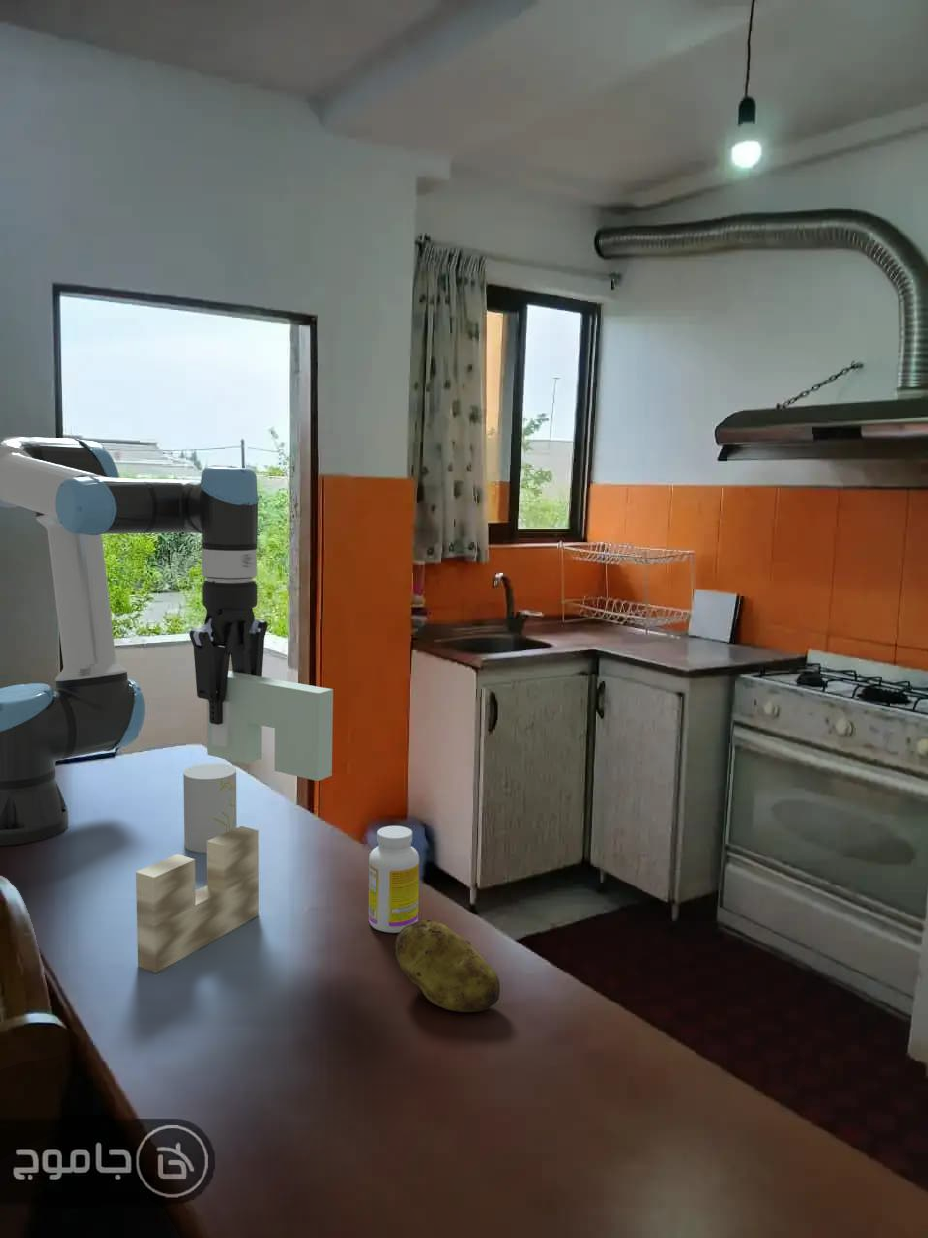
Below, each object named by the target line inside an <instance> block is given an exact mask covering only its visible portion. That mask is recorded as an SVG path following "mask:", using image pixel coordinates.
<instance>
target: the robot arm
mask: <svg viewBox="0 0 928 1238" xmlns="http://www.w3.org/2000/svg"><path fill="white" fill-rule="evenodd" d="M258 493H259V492H258V477H257V473H256V471H254V470H253V469H252V468H245V467H244V468H242V467H241V468H240V467H238V468H237V467H217V466H215V467H213V466H211V467H210V466H209V467H207V466H206V467H205V468H203V470H202V472H201V480H198V479H197V480H196V479H195V480H194V479H188V478H171V479H169V478H168V479H167V478H165V479H164V478H161V479H160V478H136V479H135V478H124V477H123V478H120V477H119V471H118V469H117V465H116V463H115V461H114V458H113V457H112V455H111V454H110V452H109V451H108V450H106V447H104V446H103V445H102V444H100V443H99V442H96V441H92V440H91V441H90V440H82V439H79V438H60V437H59V438H55V437H50V438H49V437H33V436H31V437H30V436H29V437H28V436H20V435H19V436H17V435H16V436H14V435H13V436H10V435H9V436H2V437H0V507H2V508H9V509H10V508H25V509H27V510H31V511H33V512H35V519H36V521H37V522H38V523H39V524H40V525H42V526H44V528H45V530H47V537H48V538H47V539H48V546H49V554H50V555H49V556H50V564H51V573H52V580H53V589H54V597H55V598H54V599H55V607H56V614H57V616H56V617H57V622H58V631H59V632H58V633H59V641H60V649H61V659H62V666H63V668H62V670H61V671H60V672H59V673H58V675H57V676H56V677H55V679H54V681H55V690H53V688H52V687H51V685H50V684H47V683H42V682H31V683H26V684H23V683H22V684H14V685H10V686H4V687H1V688H0V846H15V845H23V844H24V845H25V844H28V843H29V844H30V843H34V842H38V841H42V840H46V839H48V838H49V839H50V838H52V837H54V836H56V835H57V834H60V833H62V832H63V831H65V830H66V829H67V827H68V825H69V810H68V806H67V804H66V802H65V800H64V797H63V795H62V792H61V789H60V786H59V784H58V782H57V779H56V762H57V761H60V760H65V759H66V760H67V759H70V758H75V757H80V756H86V755H90V754H95V753H100V752H111V751H113V750H115V749H119V748H122V747H126V746H130V745H131V744H132V743H134V741H136V740H137V738H138V737H139V734H140V733H141V732H142V729H143V726H144V723H145V717H146V703H145V697H144V694H143V692H142V689H141V686H140V685H139V683H138V682H136V681H135V680H132V679H130V678H129V677H128V670H127V669H126V668H125V667H124V666H122V665H120V663H119V662H118V661H117V654H116V646H115V638H114V637H115V636H114V629H113V628H114V627H113V621H112V613H111V612H112V611H111V603H110V595H109V594H110V593H109V585H108V577H107V576H108V575H107V568H106V561H105V559H106V558H105V551H104V544H103V542H104V541H103V535H104V534H105V535H107V534H108V535H110V534H111V535H112V534H138V533H139V534H143V533H144V534H146V533H147V534H150V533H151V534H152V533H153V534H154V533H155V534H156V533H157V534H161V533H162V534H165V533H195V534H201V575H202V577H203V578H206V579H205V580H204V581H203V582H202V583H201V585H202V586H201V597H202V598H201V600H202V601H201V603H202V606H203V607H204V608H205V610H206V614H205V618H204V622H203V625H202V626H201V627H200V628H199V629H191V630H190V631H189V633H188V634H189V637H190V641H191V644H192V646H193V658H194V669H195V683H196V696H197V698H199V699H203V700H206V701H207V700H208V701H209V713H210V714H209V720H210V723H211V724H212V744H213V745H218V746H222V747H229V746H230V701H225V698H226V689H227V679H228V671H230V670H229V668H230V662H231V671H232V672H238V673H243V674H249V675H255V676H260V677H263V661H264V645H265V636H266V633H267V630H268V626H269V625H268V622H267V621H265V620H260V619H257V618H255V617H256V616H255V613H254V611H253V609H254V608H256V607H257V606H258V585H259V584H258V583H257V581H256V580H254V579H255V578H256V577H258V535H259V533H258V532H259V531H258V530H259V528H258V527H259V524H258V523H259V502H260V498H259V497H260V496H259V494H258ZM216 691H217V693H216Z"/></svg>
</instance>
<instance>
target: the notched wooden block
mask: <svg viewBox="0 0 928 1238" xmlns="http://www.w3.org/2000/svg"><path fill="white" fill-rule="evenodd" d="M259 834H260V833H259V830H258V829H254V828H251V827H247V826H243V825H240V826H237V828H236V829H233V830H231V831H229V832H226V833H224V834H222V835H220V836H217V837H215V838H213V839H210V840H208V841H207V853H206V885H204V886H203V887H200V888H198V889H196V859H195V858H192V857H188V856H186V855H182V854H178V853H176V854H174V855H172V856H169V857H166V858H165V859H163V860H160V861H158V862H156V863H153V864H151V865H148V866H146V867H144V868H142V869H140V870H137V871H135V883H136V884H135V886H136V887H135V888H136V889H135V890H136V930H137V931H136V934H137V938H136V939H137V967H139V968H141V969H142V970H143V969H144V970H146V971H148V972H151V973H154V974H157V973H159V972H161V971H163V970H165V969H166V968H168V967H170V966H172V965H173V964H175V963H176V962H179V961H181V960H182V959H184V958H186V957H188V956H190V955H192V954H193V953H195V952H197V951H198V950H200V949H202V948H203V947H206V946H207V945H208V944H210V943H212V942H214V941H216V940H218V939H219V938H221V937H223V936H224V935H227V934H228V933H230V932H232V931H233V930H235V929H238V928H239V927H240V926H242V925H244V924H245V923H247V922H249V921H251V920H252V919H254V918H256V917H258V916H259V915H260V913H259V912H260V910H259V909H260V902H259V901H260V893H259V891H260V888H259V887H260V884H259V883H260V882H259V881H260V879H259V878H260V874H259V873H260V870H259V869H260V868H259V867H260V856H259V855H260V852H259V850H260V849H259V847H260V846H259V841H260V838H259Z"/></svg>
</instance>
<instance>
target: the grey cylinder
mask: <svg viewBox="0 0 928 1238" xmlns="http://www.w3.org/2000/svg"><path fill="white" fill-rule="evenodd" d="M182 773H183V778H182V779H183V829H184V830H183V831H184V832H183V837H184V838H183V840H184V843H183V844H184V847H185V849H186V848H187V850H188V851H191V852H195V853H200V854H201V853H203V854H205V853H206V854H207V841H208V840H210V839H213V838H215V837H217V836H220V835H222V834H224V833H226V832H229V831H231V830H233V829H236V828H238V824H237V768H236V767H234V766H232V765H230V764H227V763H203V764H197V765H192V766H190V767H187V768H185V769H184V770H183V772H182Z"/></svg>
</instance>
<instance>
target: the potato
mask: <svg viewBox="0 0 928 1238" xmlns="http://www.w3.org/2000/svg"><path fill="white" fill-rule="evenodd" d="M395 955H396V961H397V962H398V965H399V967H400V969H401V970H402V972H403V975H404V976H405V978H406V979H408V980H409V982H411V983H413V984H414V985H416V986H418V987H419V988H420V990H421V991H422V993H423V995H424V997H425V998H426V999H427V1000H428V1001H429V1002H431V1003H432V1004H434V1005H436V1006H438V1007H440V1008H442V1009H445V1010H449V1011H452V1012H453V1011H454V1012H458V1013H459V1012H460V1013H471V1012H483V1011H485V1010H487V1009H489V1008H491V1007H492V1006H493V1005H495V1004H497V1002H498V1001H499V999H500V992H501V991H500V990H501V989H500V980H499V976H498V975H497V973H496V971H495V970H494V969H493V968H492V967H491V965H490V964H489V963H488V962H487V961H486V960H485V959H484V958H483V956H481V955H480V954H479V953H478V952H477V951H476V950H475V949H474V948H473V947H472V945H471V942H469V941H468V940H465V939H464V937H462V936H461V935H459V934H457V933H456V932H454V931H453V930H452V929H450V928H449V927H448V926H447V925H446V924H444V923H442V922H439V921H437V920H433V919H432V920H431V919H419V920H418V921H417V922H414V923H412V924H409V925H407V926H406V927H404V928H403V929H402V930H401V931H400V932H399V933H398V935H397V937H396V940H395Z"/></svg>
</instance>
